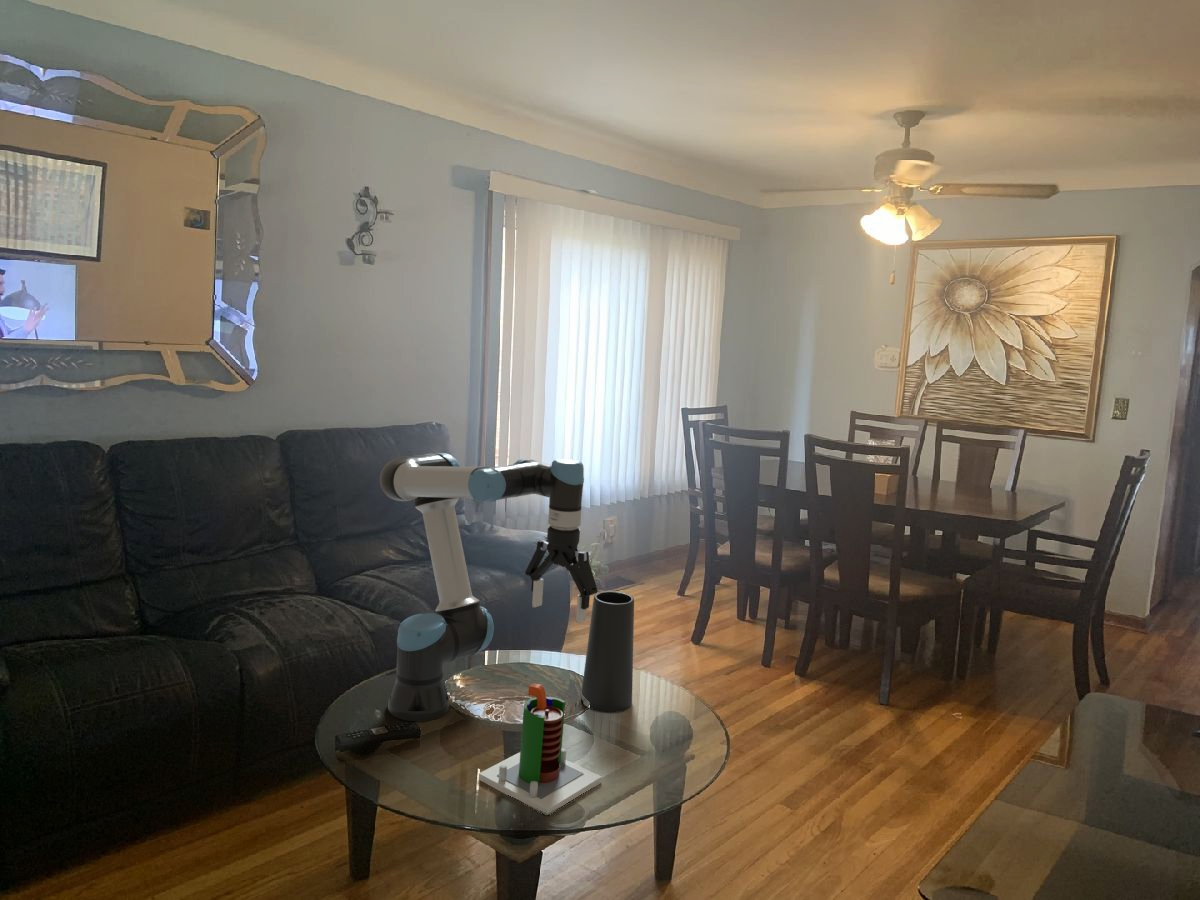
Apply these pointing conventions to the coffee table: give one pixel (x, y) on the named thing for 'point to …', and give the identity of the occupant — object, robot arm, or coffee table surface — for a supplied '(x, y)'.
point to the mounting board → (546, 794)
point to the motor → (541, 737)
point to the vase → (610, 653)
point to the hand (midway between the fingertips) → (558, 613)
